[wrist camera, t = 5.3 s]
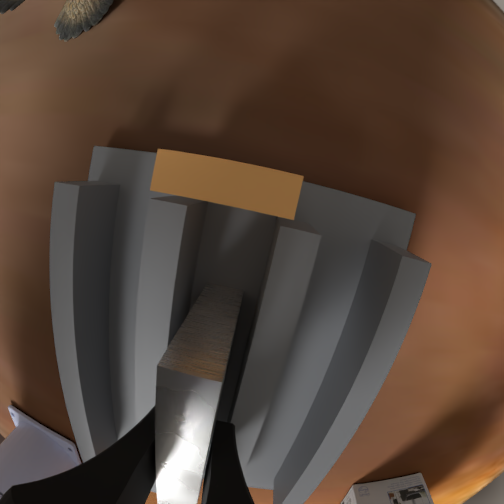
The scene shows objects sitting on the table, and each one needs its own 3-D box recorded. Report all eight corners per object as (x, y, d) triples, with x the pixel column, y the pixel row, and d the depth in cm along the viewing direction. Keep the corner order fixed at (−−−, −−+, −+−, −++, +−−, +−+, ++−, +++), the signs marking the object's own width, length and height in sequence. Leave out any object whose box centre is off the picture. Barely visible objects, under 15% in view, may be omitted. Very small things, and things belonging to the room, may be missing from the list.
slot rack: (291, 480, 16) (294, 559, 9) (102, 435, 16) (62, 501, 9) (405, 211, 12) (515, 240, 5) (105, 148, 12) (-9, 131, 5)
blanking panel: (210, 445, 14) (191, 529, 8) (185, 439, 14) (159, 520, 8) (243, 290, 12) (221, 382, 6) (207, 282, 12) (157, 365, 6)
